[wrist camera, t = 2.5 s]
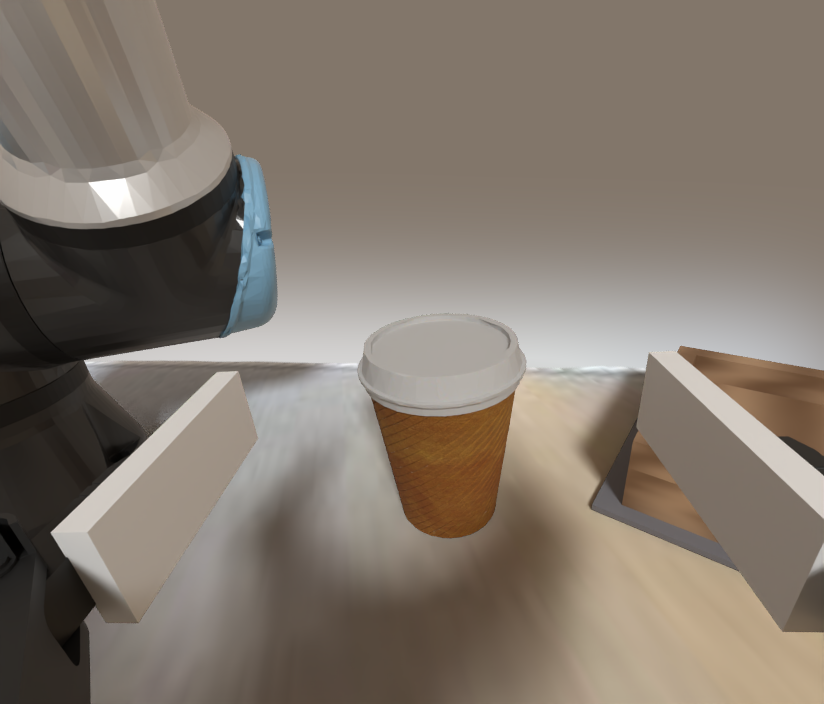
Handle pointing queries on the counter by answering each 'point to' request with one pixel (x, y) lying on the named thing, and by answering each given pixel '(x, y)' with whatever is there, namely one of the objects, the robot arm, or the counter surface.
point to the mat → (612, 506)
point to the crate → (761, 397)
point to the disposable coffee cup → (444, 414)
